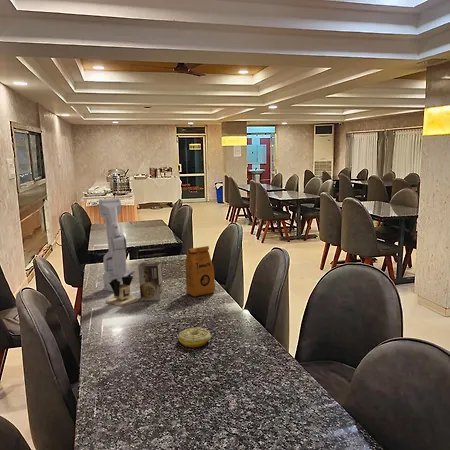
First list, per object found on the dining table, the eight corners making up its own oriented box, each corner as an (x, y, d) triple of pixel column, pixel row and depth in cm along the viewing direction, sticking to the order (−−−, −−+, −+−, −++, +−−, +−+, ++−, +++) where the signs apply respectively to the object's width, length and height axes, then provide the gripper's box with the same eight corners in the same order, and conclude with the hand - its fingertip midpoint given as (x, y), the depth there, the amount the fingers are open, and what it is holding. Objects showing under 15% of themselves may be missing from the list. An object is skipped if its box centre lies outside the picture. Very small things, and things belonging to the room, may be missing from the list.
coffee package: (217, 294, 187) (216, 247, 183) (192, 299, 181) (190, 250, 177) (208, 288, 195) (206, 243, 192) (184, 292, 190) (182, 246, 186)
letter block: (113, 297, 180) (113, 286, 179) (122, 294, 184) (121, 283, 183) (122, 299, 177) (121, 288, 176) (130, 296, 181) (129, 285, 180)
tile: (105, 302, 180) (105, 300, 180) (121, 296, 187) (121, 294, 187) (123, 306, 174) (123, 304, 174) (138, 300, 181) (138, 298, 181)
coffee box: (163, 296, 186) (161, 261, 184) (160, 300, 180) (158, 265, 177) (144, 295, 187) (142, 261, 185) (140, 300, 181) (137, 265, 178)
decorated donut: (216, 341, 140) (216, 330, 139) (193, 352, 132) (193, 341, 131) (196, 332, 147) (195, 322, 146) (172, 342, 139) (172, 332, 138)
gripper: (112, 269, 170) (115, 300, 172) (138, 261, 182) (140, 290, 184) (101, 267, 174) (104, 297, 176) (127, 259, 186) (129, 288, 188)
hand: (121, 293), depth 180 cm, fingers closed on letter block, 5 cm apart
